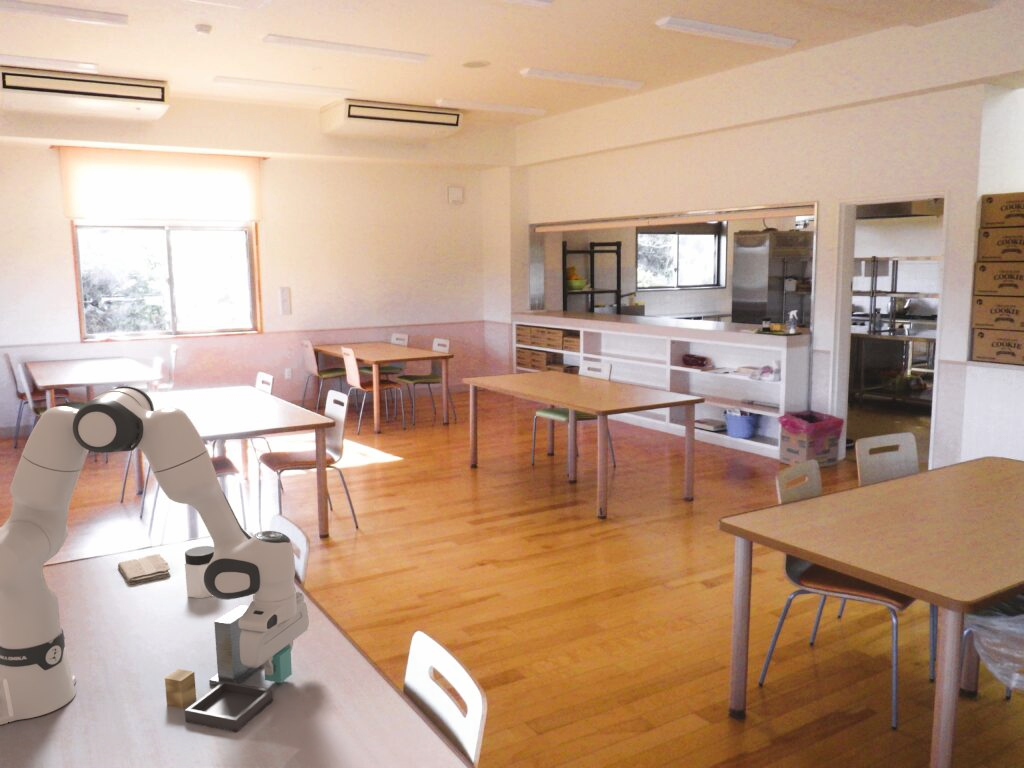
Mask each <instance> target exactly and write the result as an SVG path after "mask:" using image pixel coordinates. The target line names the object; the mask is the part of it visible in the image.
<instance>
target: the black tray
mask: <svg viewBox="0 0 1024 768" xmlns="http://www.w3.org/2000/svg"><path fill="white" fill-rule="evenodd" d="M272 701H273V702H274V690H273V689H269V688H265V687H260V686H259V687H258V686H255V685H249V684H243V683H241V684H238V683H232V682H227V681H223V682H222V683H221V684H219V685H218V686H214V688H212V689H211V690H209V691H208V692H207V693H206V694H204V695H203V696H201V697H200V698H198V700H197V701H196V700H195V702H194V703H192V704H191V705H190V706H188V707H187V708H186V709H185V710H184V717H185V718H184V719H185V723H189V724H193V725H194V724H195V725H199V726H204V727H209V728H214V729H219V730H223V731H228V732H229V731H230V732H234V733H238V731H240V730H241V729H242V728H244V727H245V726H246V725H247V724H248V723H249V722H250V721H252V720H253V719H254V718H256V716H258V715H259V713H261V712H262V711H263V710H265V709H266V708H267V707H268V706H269V705H270V704H272V703H273V702H272Z"/></svg>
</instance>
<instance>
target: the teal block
mask: <svg viewBox="0 0 1024 768" xmlns="http://www.w3.org/2000/svg"><path fill="white" fill-rule="evenodd" d="M271 662H272V664H274V665H276V672H275V673H273V674H272V675H266V674H265V673H264V680H265V681H269V682H274V683H278V684H279V683H280V684H282V683H283V682H284V681H285V680H287V679H288V678H289V677H290V676H292V673H293V671H292V650H291V648H287V647H284V648H283V649H281V650H280V651H279V652H278V653H276V654H275V655H274V656H273V660H272V661H271ZM263 668H264V670H265V667H264V666H263Z"/></svg>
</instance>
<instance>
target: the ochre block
mask: <svg viewBox="0 0 1024 768" xmlns="http://www.w3.org/2000/svg"><path fill="white" fill-rule="evenodd" d="M195 679H196V677H195V671H192V670H191V671H190V670H186V669H178V668H177V669H176V670H175V671H174V672H172V673H171V674H168V676H166V677H165V678H164V684H165V685H164V686H165V697H166V705H167V707H168V706H170V707H172V706H173V708H178V709H179V708H180V709H184V708H186V707H187V706H188V705H190V704H191V703H192V701H193V700H194V701H196V700H197V691H196V690H197V689H196V680H195ZM194 701H193V702H194ZM190 702H191V703H190ZM189 703H190V704H189ZM185 706H186V707H185Z"/></svg>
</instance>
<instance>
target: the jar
mask: <svg viewBox="0 0 1024 768" xmlns="http://www.w3.org/2000/svg"><path fill="white" fill-rule="evenodd" d="M213 555H214V546H212V545H203V546H196V547H192V548H190V549H188V550H186V551H185V552H184V558H185V563H184V568H185V569H184V571H185V581H186V582H185V584H186V596H187V597H188V598H193V599H194V598H195V599H206V598H208V597H211V596H212V594H210V593H209V592H208V590H207V589H206V587H205V584H204V573H205V570H206V568H207V566H208V564H209V562H210V561H211V559H212V557H213Z"/></svg>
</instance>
